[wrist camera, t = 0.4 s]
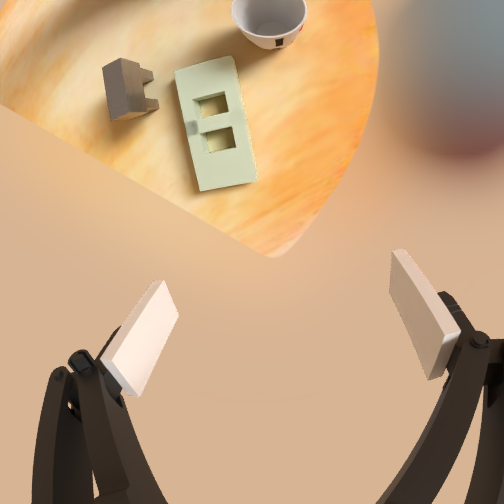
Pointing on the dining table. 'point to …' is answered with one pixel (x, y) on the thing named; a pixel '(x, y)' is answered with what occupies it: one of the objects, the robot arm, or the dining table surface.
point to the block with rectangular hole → (216, 123)
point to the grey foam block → (127, 89)
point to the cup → (269, 21)
